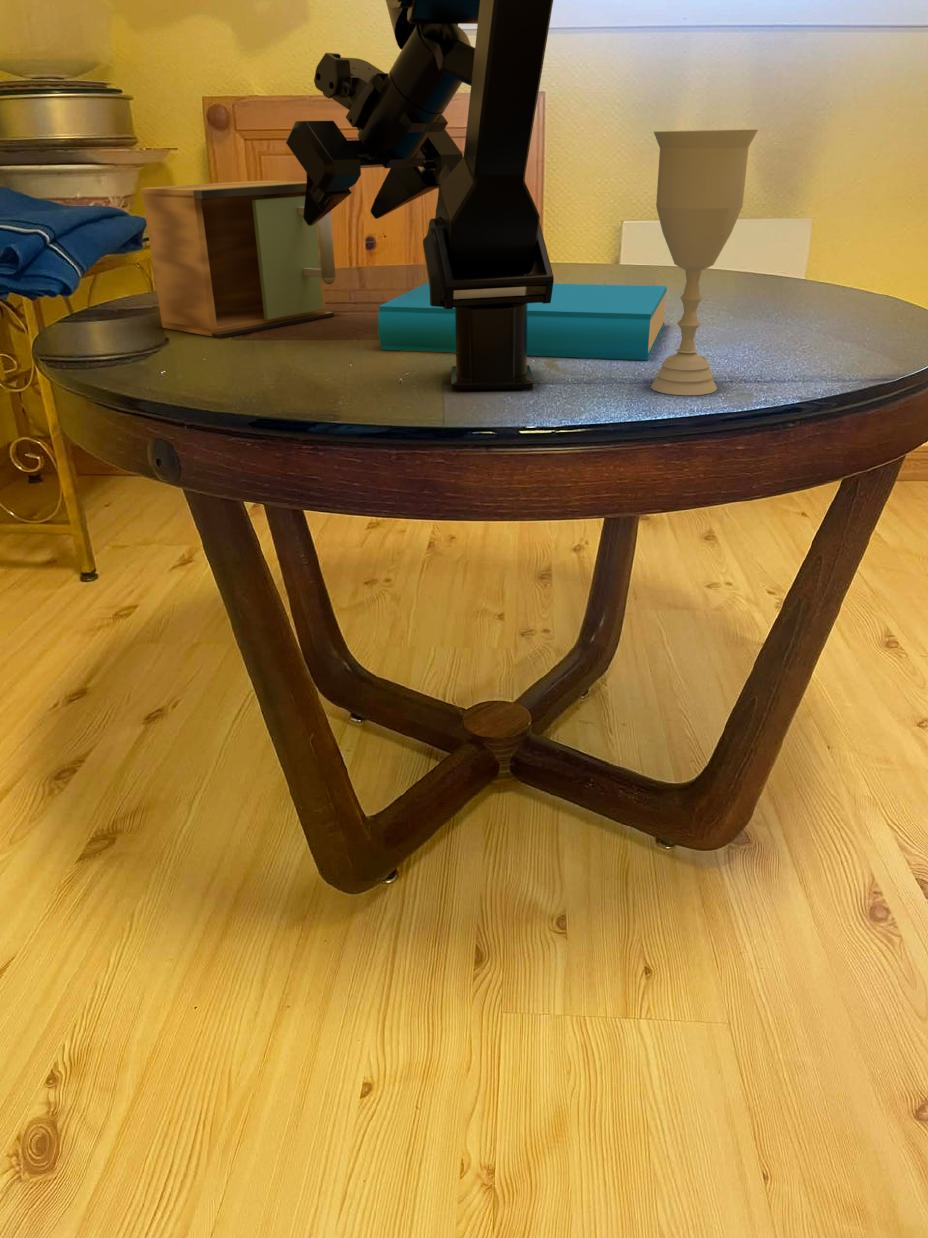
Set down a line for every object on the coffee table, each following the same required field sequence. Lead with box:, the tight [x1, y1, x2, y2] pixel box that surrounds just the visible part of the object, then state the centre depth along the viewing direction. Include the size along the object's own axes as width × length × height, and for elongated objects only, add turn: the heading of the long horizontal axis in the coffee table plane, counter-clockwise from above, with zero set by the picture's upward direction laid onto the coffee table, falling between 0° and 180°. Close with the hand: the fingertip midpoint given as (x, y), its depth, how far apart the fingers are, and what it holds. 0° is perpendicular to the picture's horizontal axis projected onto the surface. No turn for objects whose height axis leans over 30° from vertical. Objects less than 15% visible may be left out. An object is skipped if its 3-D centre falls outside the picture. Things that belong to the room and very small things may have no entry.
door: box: [252, 195, 336, 320], centre depth 101 cm, size 5×8×12 cm, turn 140°
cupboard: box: [141, 179, 335, 339], centre depth 103 cm, size 10×16×14 cm, turn 140°
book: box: [377, 281, 668, 361], centre depth 94 cm, size 17×4×25 cm
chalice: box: [650, 129, 759, 396], centre depth 72 cm, size 7×7×18 cm
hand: (341, 218), depth 98 cm, fingers open, 9 cm apart
